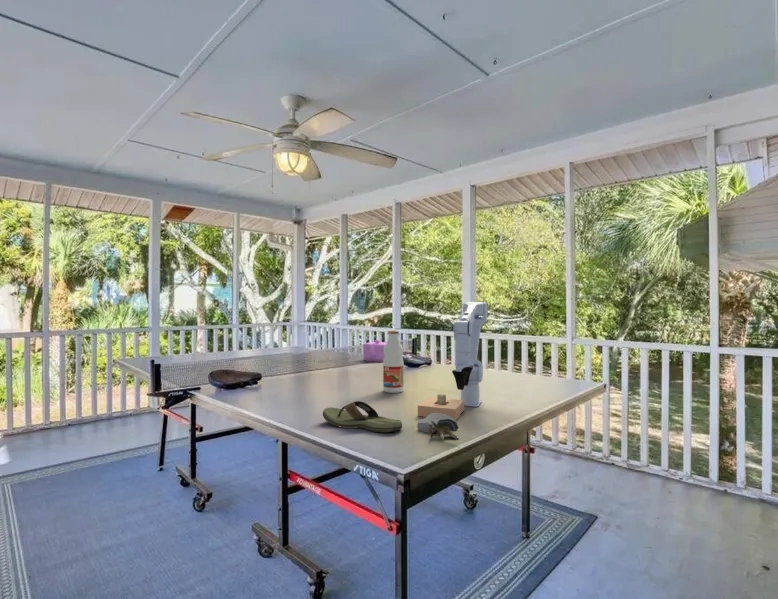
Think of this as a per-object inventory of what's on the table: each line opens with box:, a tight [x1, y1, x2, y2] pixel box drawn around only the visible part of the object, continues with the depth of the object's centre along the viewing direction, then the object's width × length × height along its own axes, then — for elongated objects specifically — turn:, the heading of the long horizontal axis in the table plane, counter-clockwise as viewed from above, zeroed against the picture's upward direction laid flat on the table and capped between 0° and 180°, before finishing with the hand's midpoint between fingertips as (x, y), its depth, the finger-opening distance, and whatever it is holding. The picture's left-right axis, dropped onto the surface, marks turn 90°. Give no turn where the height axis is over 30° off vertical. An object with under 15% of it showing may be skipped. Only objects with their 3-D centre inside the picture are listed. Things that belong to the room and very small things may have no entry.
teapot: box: [362, 339, 387, 363], centre depth 298 cm, size 15×25×14 cm, turn 160°
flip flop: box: [322, 400, 403, 433], centre depth 150 cm, size 29×12×8 cm, turn 60°
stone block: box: [416, 413, 457, 433], centre depth 146 cm, size 12×5×10 cm
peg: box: [436, 393, 447, 405], centre depth 165 cm, size 3×3×7 cm
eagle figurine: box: [429, 419, 460, 441], centre depth 137 cm, size 8×7×9 cm
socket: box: [417, 396, 465, 421], centre depth 165 cm, size 14×14×4 cm
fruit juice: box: [382, 330, 405, 394], centre depth 203 cm, size 9×9×28 cm
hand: (462, 387), depth 167 cm, fingers open, 7 cm apart
